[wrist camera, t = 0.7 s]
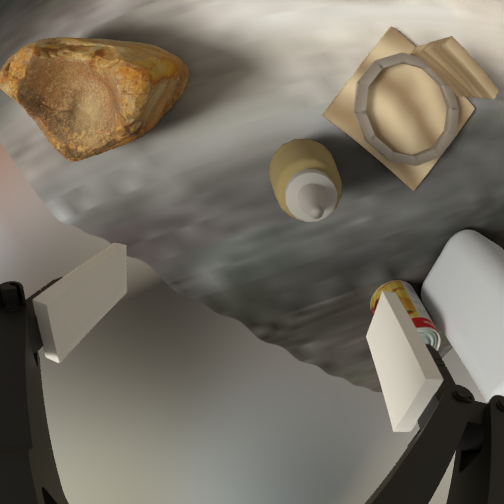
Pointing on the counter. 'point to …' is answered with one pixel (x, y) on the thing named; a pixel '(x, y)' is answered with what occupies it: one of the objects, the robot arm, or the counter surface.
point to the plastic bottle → (471, 305)
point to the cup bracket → (409, 102)
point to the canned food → (410, 309)
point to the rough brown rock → (93, 90)
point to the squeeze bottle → (305, 180)
